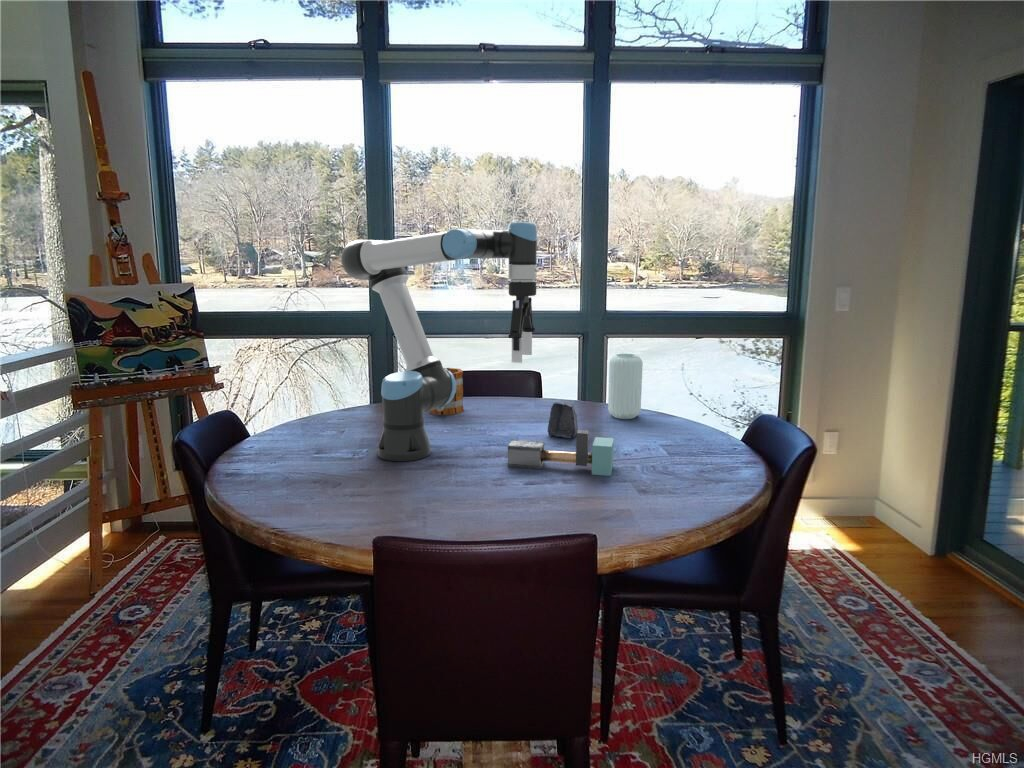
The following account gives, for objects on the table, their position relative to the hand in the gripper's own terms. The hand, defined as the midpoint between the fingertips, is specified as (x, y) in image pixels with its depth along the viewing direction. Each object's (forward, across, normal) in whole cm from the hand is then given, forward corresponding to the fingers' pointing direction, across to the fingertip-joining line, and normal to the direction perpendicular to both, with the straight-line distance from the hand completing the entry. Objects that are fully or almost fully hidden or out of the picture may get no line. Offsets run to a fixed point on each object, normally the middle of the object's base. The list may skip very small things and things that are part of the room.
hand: (522, 358), depth 180 cm
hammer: (+27, -6, -15) cm, 31 cm away
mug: (+29, +46, +39) cm, 67 cm away
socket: (+29, -6, -24) cm, 37 cm away
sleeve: (+29, -6, -2) cm, 29 cm away
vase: (+29, +55, -26) cm, 67 cm away
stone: (+29, +27, -9) cm, 40 cm away
